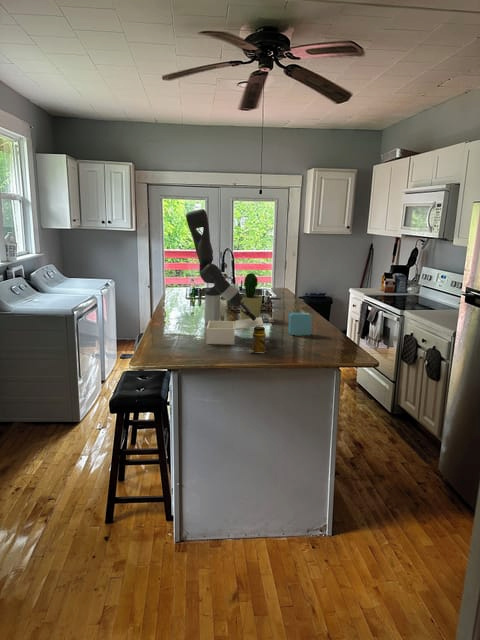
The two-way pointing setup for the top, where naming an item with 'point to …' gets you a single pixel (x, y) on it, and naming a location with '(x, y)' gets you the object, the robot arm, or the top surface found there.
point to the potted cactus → (251, 296)
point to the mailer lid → (248, 323)
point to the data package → (300, 324)
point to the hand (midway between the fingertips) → (254, 319)
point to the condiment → (259, 339)
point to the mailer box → (220, 332)
